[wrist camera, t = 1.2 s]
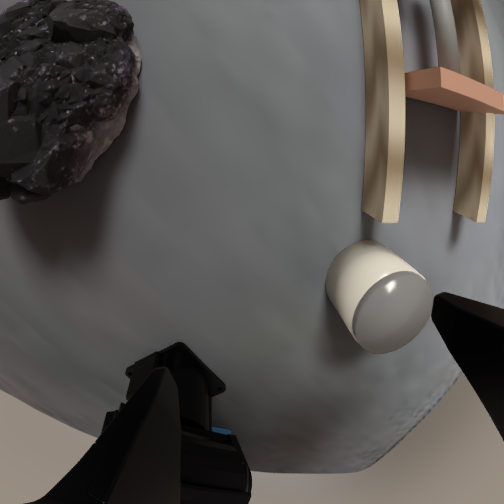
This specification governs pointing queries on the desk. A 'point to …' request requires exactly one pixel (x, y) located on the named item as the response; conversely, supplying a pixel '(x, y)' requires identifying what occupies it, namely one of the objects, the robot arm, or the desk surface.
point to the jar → (378, 296)
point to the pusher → (450, 73)
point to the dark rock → (61, 91)
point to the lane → (393, 111)
